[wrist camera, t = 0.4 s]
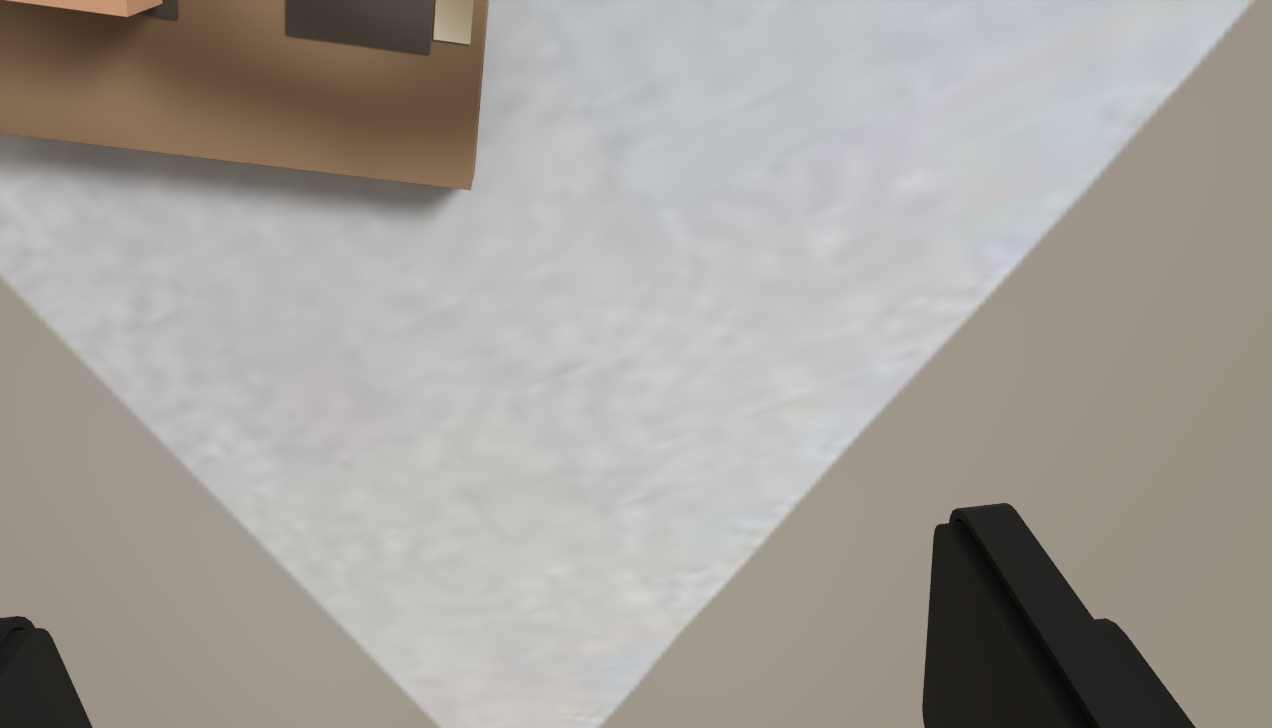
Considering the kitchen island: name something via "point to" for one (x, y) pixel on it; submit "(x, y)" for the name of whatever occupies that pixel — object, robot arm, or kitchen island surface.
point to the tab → (100, 5)
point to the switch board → (257, 82)
